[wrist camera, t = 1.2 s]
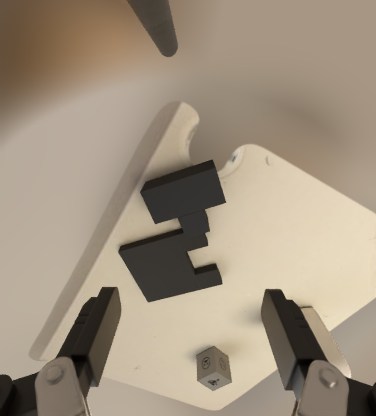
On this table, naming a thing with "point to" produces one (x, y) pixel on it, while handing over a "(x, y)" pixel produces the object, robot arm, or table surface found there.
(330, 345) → the photo printer
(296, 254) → the table surface
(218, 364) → the dice cube
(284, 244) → the table surface
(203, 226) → the black t-shaped block
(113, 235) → the table surface
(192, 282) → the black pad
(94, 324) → the robot arm
